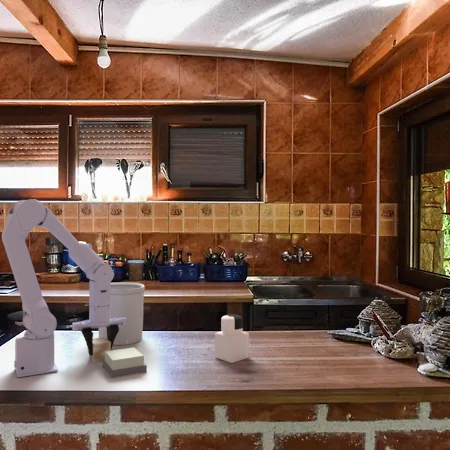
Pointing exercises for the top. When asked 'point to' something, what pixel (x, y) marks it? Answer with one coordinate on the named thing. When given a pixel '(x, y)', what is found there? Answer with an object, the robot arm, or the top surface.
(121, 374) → the tower base
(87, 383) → the top surface
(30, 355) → the robot arm
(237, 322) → the medicine bottle
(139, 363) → the tower top
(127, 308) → the utensil holder
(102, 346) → the birch block
